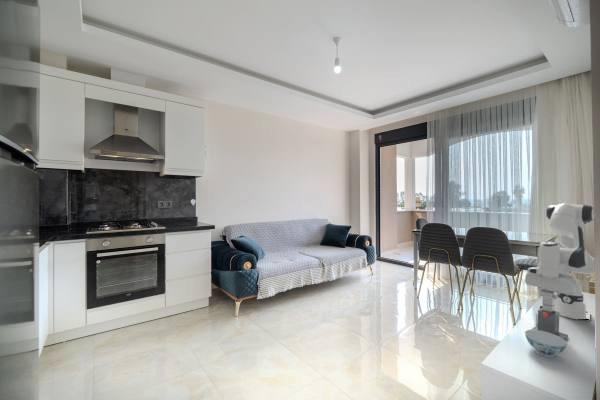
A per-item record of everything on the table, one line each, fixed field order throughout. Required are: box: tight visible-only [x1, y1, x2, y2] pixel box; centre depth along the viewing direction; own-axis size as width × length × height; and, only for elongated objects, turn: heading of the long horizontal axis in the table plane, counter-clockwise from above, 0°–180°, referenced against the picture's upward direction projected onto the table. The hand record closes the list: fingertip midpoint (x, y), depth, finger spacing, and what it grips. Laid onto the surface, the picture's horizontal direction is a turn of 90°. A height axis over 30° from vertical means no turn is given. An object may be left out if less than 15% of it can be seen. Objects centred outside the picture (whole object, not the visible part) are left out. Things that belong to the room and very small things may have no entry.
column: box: [541, 288, 557, 314], centre depth 147 cm, size 5×5×22 cm
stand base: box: [530, 308, 569, 341], centre depth 147 cm, size 13×13×14 cm
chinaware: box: [524, 329, 568, 358], centre depth 131 cm, size 15×15×8 cm
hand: (548, 297), depth 147 cm, fingers closed on column, 4 cm apart
